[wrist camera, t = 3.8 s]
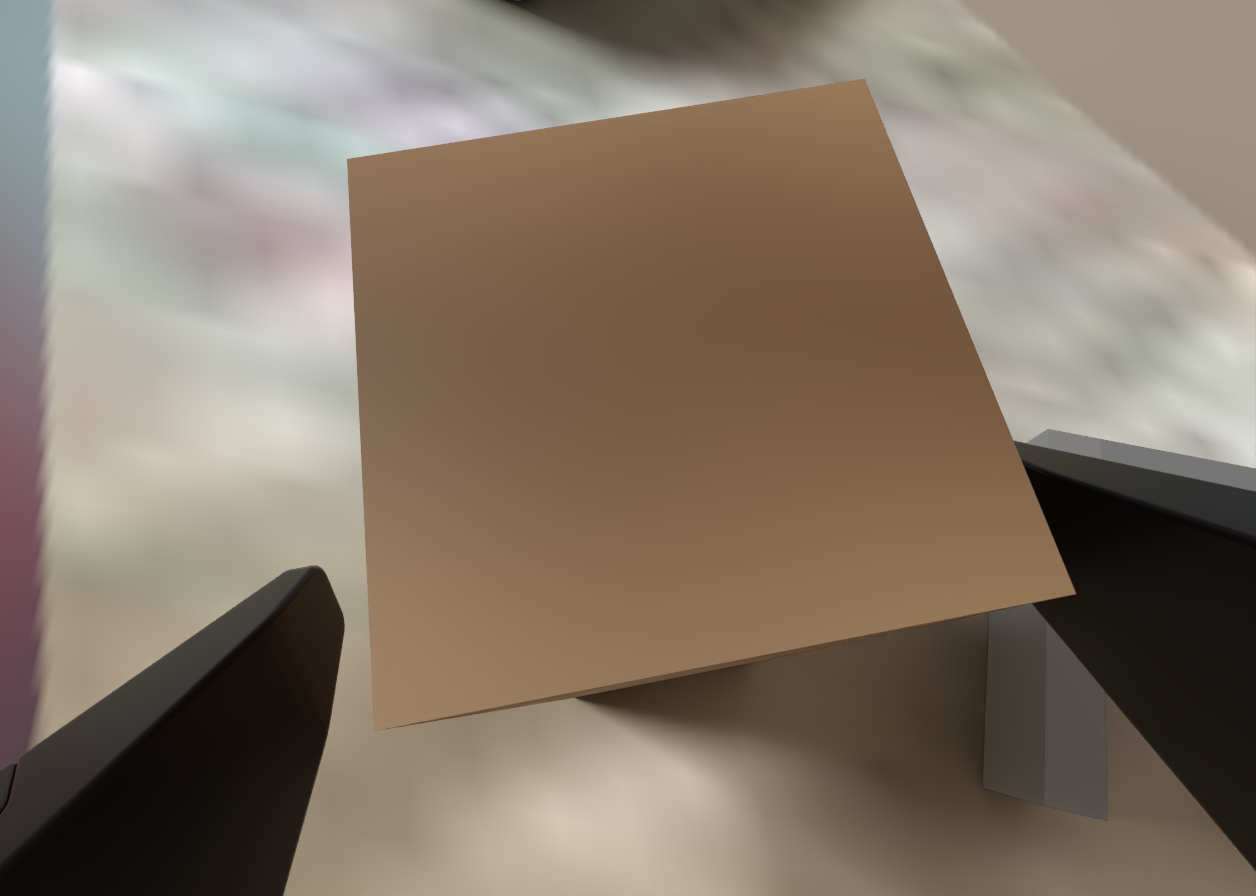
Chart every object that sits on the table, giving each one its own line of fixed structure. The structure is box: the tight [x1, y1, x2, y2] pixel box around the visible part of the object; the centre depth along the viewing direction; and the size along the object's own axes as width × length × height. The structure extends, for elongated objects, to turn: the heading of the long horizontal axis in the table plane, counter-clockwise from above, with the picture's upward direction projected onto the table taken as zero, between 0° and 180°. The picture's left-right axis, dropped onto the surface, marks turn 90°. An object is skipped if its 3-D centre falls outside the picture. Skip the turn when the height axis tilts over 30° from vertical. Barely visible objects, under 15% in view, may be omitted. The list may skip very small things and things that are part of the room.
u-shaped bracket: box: [983, 429, 1256, 821], centre depth 15 cm, size 8×9×2 cm
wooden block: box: [347, 79, 1076, 731], centre depth 11 cm, size 4×4×13 cm
